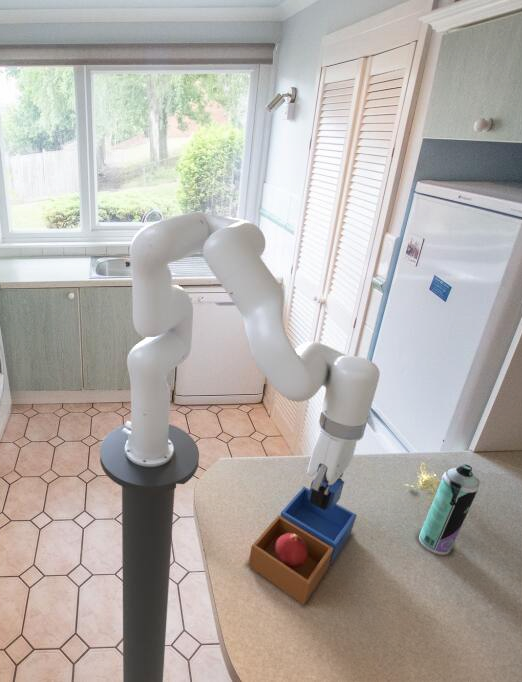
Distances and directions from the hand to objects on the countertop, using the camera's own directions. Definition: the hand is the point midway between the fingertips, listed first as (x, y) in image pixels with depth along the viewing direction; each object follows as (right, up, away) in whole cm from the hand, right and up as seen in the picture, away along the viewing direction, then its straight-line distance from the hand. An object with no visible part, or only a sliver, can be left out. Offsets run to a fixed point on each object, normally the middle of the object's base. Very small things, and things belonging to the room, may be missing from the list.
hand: (323, 497), depth 89 cm
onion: (-8, -12, -3) cm, 15 cm away
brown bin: (-8, -13, -3) cm, 15 cm away
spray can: (+23, -10, +2) cm, 26 cm away
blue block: (0, 0, 0) cm, 0 cm away
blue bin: (0, -9, +5) cm, 10 cm away
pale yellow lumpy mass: (+30, -5, +13) cm, 33 cm away
